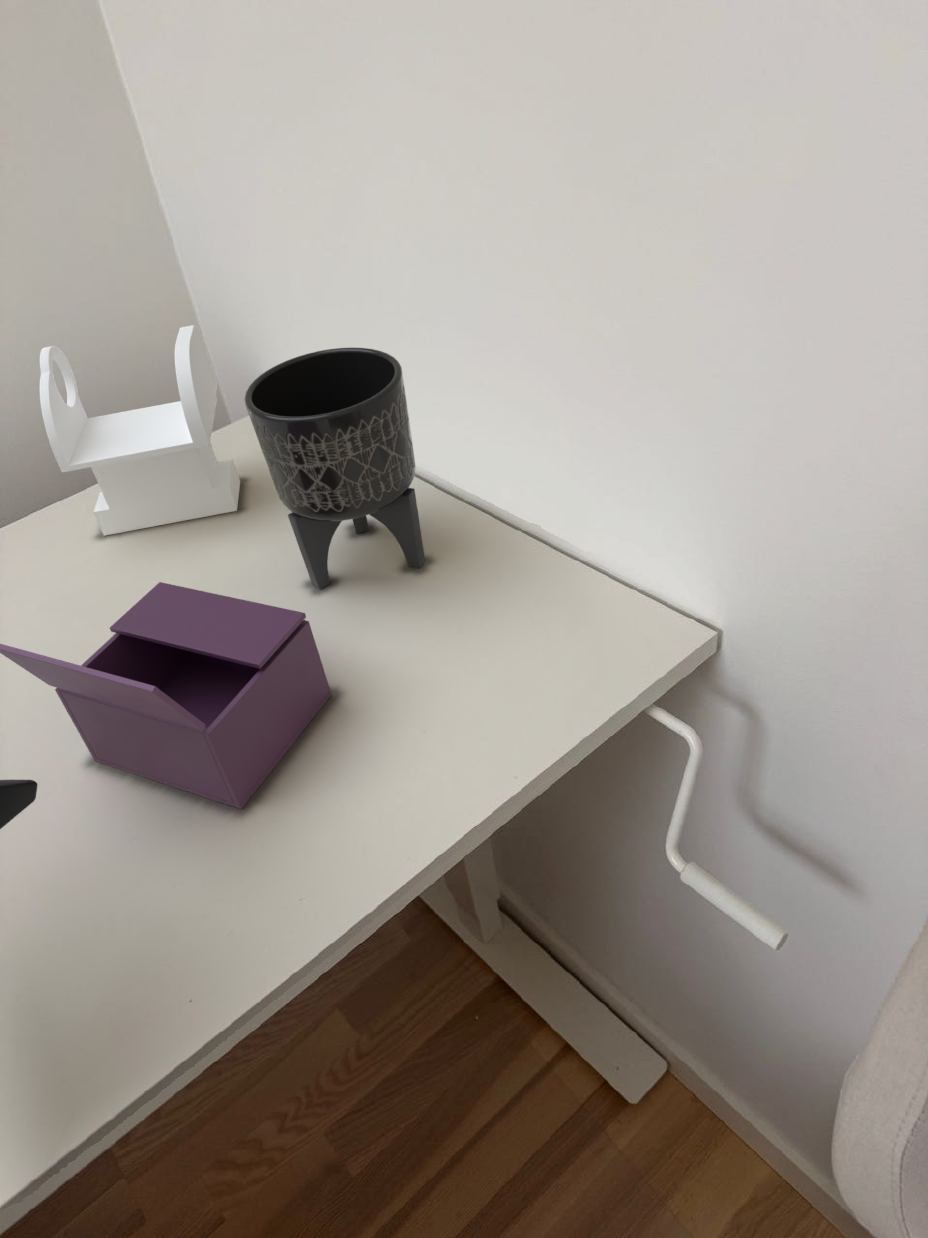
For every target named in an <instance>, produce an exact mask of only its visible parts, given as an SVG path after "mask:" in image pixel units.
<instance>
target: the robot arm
mask: <svg viewBox="0 0 928 1238" xmlns="http://www.w3.org/2000/svg"><path fill="white" fill-rule="evenodd" d="M37 792H38V782H37V781H35V780H33V779H0V830H1V829H2V828H4V827H5V826H7V824H8V823H10V822H11V821H12V820H14V819H15V818H16V817H17V816H18V815H19V814H21V813H22V812H23V811H24V810H25V809H27V808H28V807H29V806H30V805H31V804H33V803H34V802H35V800H36V798H37Z"/></svg>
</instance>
